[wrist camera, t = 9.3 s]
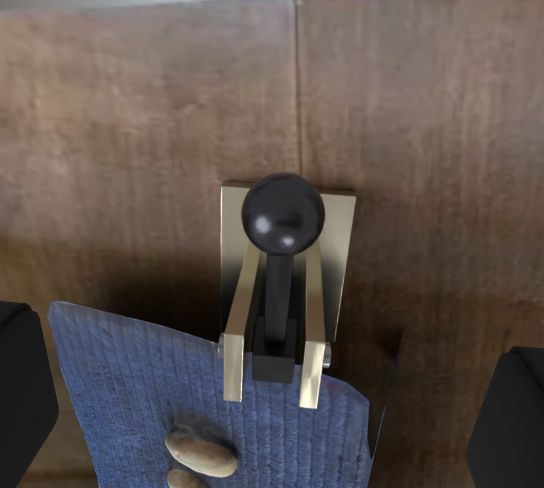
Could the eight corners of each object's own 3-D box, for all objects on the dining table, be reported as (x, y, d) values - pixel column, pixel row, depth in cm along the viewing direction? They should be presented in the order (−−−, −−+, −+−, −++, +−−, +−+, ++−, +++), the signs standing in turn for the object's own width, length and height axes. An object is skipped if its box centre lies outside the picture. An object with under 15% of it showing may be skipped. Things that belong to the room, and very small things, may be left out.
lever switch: (246, 152, 17) (234, 208, 15) (330, 158, 17) (330, 215, 15) (249, 336, 26) (241, 386, 24) (303, 340, 26) (300, 392, 24)
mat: (362, 586, 55) (342, 710, 46) (169, 511, 63) (118, 602, 54) (416, 288, 33) (398, 410, 23) (106, 232, 41) (1, 305, 32)
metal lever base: (223, 180, 31) (180, 262, 20) (355, 190, 30) (380, 279, 20) (222, 322, 36) (187, 446, 26) (334, 332, 36) (345, 462, 25)
